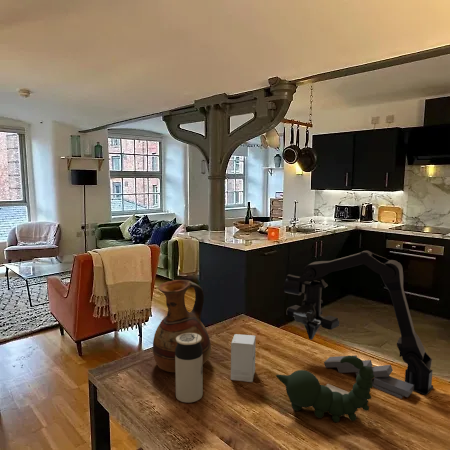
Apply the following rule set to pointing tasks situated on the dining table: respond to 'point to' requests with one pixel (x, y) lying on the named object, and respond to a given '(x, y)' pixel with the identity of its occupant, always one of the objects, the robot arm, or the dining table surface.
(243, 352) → the supplement box
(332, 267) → the robot arm
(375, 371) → the tile
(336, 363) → the tile
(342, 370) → the tile
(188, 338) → the travel mug
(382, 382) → the grey block
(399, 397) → the tile
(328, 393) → the toy figurine
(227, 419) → the dining table surface
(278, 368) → the dining table surface
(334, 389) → the tile
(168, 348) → the ceramic pitcher
